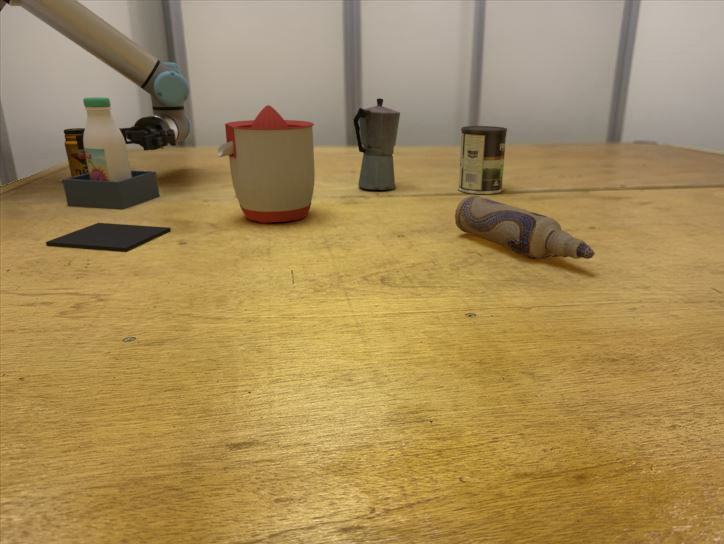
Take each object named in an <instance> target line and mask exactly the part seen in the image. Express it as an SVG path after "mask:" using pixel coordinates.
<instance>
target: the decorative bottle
mask: <svg viewBox="0 0 724 544" xmlns="http://www.w3.org/2000/svg"><path fill="white" fill-rule="evenodd" d="M454 213H455V214H454V220H455V225H456V227H457V228H458V229H459V230H460V231H461V232H462V233H466V234H469V235H473V236H475V237H478V238H481V239H483V240H486V241H489V242H492V243H494V244H497V245H500V246H501V247H505V248H509V249H510V250H511V251H513V252H515V253H517V254H519V255H522V256H524V257H527V258H529V259H531V260H538V259H546V258H549V257H552V258H557V257H563V258H568V257H569V258H572V259H574V260H580V259H586V260H589V259H592V258H593V257H594V255H595V254H596V253H595V252H594V250H593V248H592V247H591V246H590V245H588V244H587V243H586V241H585V240H583V239H580V238H578V237H577V238H576V237H574V236H573V235H571V234H570V233H569V232H567V231H565V230H562V225H561V224H560V223H559V222H558V221H557V220H556V219H555V218H553V217H549V216H547V215H544V214H540V213H536V212H533V211H530V210H527V209H526V208H520V207H517V206H514V205H509V204H506V203H503V202H499V201H497V200H492V199H490V198H486V197H482V196H481V195H479V194H472V195H469V196H466V197H464V198H463V199H461V201H460V202H458V205H457V207H456V209H455V212H454Z"/></svg>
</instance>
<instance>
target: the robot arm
mask: <svg viewBox="0 0 724 544" xmlns="http://www.w3.org/2000/svg"><path fill="white" fill-rule="evenodd" d="M6 5H9V6H11V7H21V8H22V9H24V10H25V11H26V12H28V13H29V14H31V15H33V16H34V17H35V18H37V19H39V20H40V21H42V22H43V23H45V24H46V25H48V26H49V27H51V28H52V29H53V30H55V31H56V32H58V33H59V34H61V35H62V36H64V37H65V38H67V39H68V40H69V41H71V42H72V43H74V44H76V45H77V46H79V47H80V48H81V49H83V50H85V51H86V52H87V53H89V54H90V55H92V56H93V57H95V58H96V59H98V60H99V61H101V62H102V63H104V64H105V65H107V66H108V67H110V68H111V69H112V70H114V71H115V72H117V73H118V74H120V75H122V76H123V77H124V78H126V79H127V80H129V81H130V82H132V83H133V84H135V85H136V86H138V87H139V88H140V89H142V90H143V91H145V92H146V93H148V94H149V95H150V99H151V100H150V101H151V105H152V115H149V116H144V117H140V118H139V119H137V120H136V121H135V123H134V125H132V126H130V127H118V128H119V130H120V131H121V133H122V135H123V137H124V140H125V143H126V145H132V144H133V145H139V146H140V147H142V148H143V151H155V150H159V149H161V150H165V149H166V147H169V146H172V147H176V146H177V144H179V143H182V142H183V141H185V140H187V139H188V138H189V137H190V136H191V134H192V132H193V124H192V120H191V119H190V117H189V116H188V115H187V114H186V112H185V111H186V110H185V105H184V104H185V103H186V102H187V100H188V99H189V97H190V92H191V91H190V85H189V82H188V80H187V79H186V78H185V77H184V76H183V75H182V74H181V73H180V68H179V65H178V64H177V63H176V62H173V61H172V62H171V61H169V62H168V61H167V62H166V61H161V60H159V59H158V58H157V57H156V56H154V55H153V54H151V53H150V51H149V52H148V51H147V50H146V49H145V48H143V47H142V46H140V45H139V44H138V43H137V42H135V41H134V40H132V39H131V38H129V37H128V36H127V35H126V34H124V33H122V32H121V31H120V30H118V29H117V28H116V27H114V26H112V25H111V24H110V23H109V22H107V21H106V20H104V18H102V17H100V15H98V14H97V13H95V12H94V11H92V10H91V9H89V8H88V7H86V6H85V5H84V4H83V3H81V2H79V0H0V12H2V10H3V9H4V8H5V6H6ZM83 136H84V132H82V135H78V136H76V140H77V145H78V149H79V150H82V149H84V143H83Z"/></svg>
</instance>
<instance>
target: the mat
mask: <svg viewBox="0 0 724 544" xmlns="http://www.w3.org/2000/svg"><path fill="white" fill-rule="evenodd" d="M171 231H172V230H171V227H168V226H167V227H166V226H155V225H154V226H152V225H151V226H150V225H139V224H137V225H136V224H124V223H123V224H122V223H109V222H96V223H94V224H91V225H88V226H86V227H83V228H80V229H77V230H75V231H72V232H69V233H67V234H64V235H61V236H58V237H56V238H53V239H50V240H47V241H45V244H46V246H47V247H62V248H76V249H87V250H99V251H102V250H103V251H112V252H125V253H126V252H128V251H131V250H133V249H135V248H137V247H139V246H141V245H144V244H145V243H146V244H147V243H148V242H151V241H152V240H154V239H156V238H159V237H160V236H163V235H165V234H168V233H170V232H171Z"/></svg>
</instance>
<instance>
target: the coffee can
mask: <svg viewBox="0 0 724 544" xmlns="http://www.w3.org/2000/svg"><path fill="white" fill-rule="evenodd" d="M460 131H461V136H460V156H459V158H460V159H459V179H458V188H457V189H458V191H459V192H462V193H465V194H472V195H494V194H501V193H502V192H503V180H504V179H503V177H504V165H505V154H506V153H505V151H506V141H507V133H508V128H507V127H503V126H495V125H494V126H491V125H468V126H466V125H465V126H462V127H460Z"/></svg>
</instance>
